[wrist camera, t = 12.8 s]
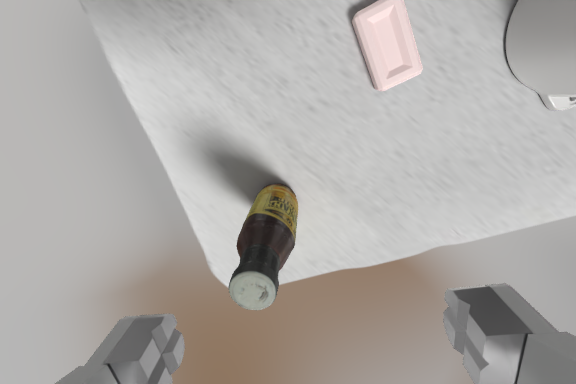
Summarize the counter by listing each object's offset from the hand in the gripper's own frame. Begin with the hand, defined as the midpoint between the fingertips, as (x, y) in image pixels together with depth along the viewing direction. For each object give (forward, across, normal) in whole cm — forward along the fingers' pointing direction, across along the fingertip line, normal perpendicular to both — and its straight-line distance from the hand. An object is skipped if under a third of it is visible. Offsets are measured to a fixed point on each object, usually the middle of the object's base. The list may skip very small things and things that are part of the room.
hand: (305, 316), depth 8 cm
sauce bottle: (+31, +5, +9) cm, 33 cm away
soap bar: (+32, -11, -9) cm, 35 cm away
